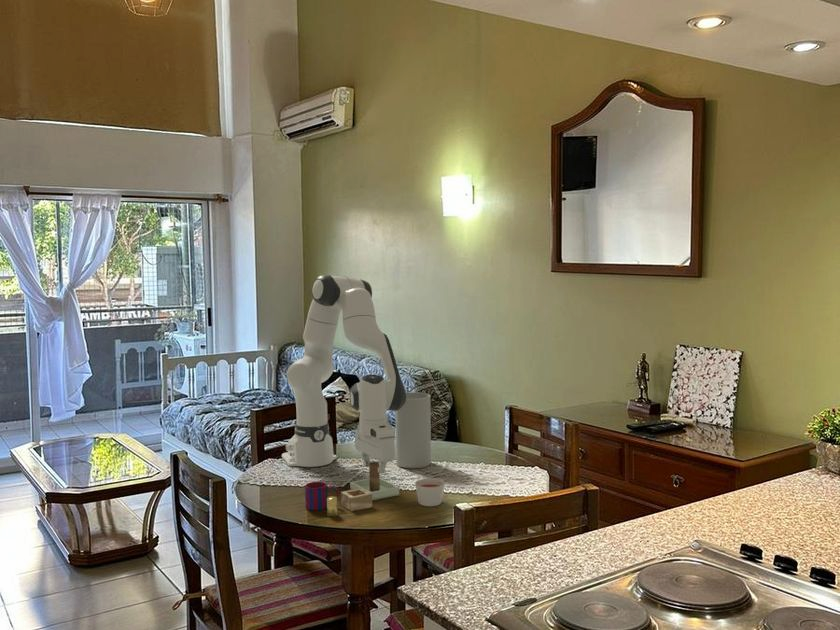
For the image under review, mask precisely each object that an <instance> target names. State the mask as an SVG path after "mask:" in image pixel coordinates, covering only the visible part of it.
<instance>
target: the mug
mask: <svg viewBox="0 0 840 630" xmlns="http://www.w3.org/2000/svg"><path fill="white" fill-rule="evenodd" d="M330 489H334V490H335V492H336V496H335V497H337V500H338V498H339V490H338V487H336V486H335V485H334V486H332V485H331V486H328V483H327V482H325V481H311V482H307V483H306V484H304V501H305V506H304V507H305V509H306V510H308V511H313V510H317V511H322V510H326V509H327V497H329V496H328V493H329V492H328V491H329V490H330ZM325 508H326V509H325Z"/></svg>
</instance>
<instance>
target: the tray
mask: <svg viewBox="0 0 840 630" xmlns="http://www.w3.org/2000/svg"><path fill="white" fill-rule="evenodd" d="M379 479H380V490H379V491H374V492H371V491H370V483H369V478H366V479H365V478H364V479H360V480H355V481H350V482H349V483H350V484H349V487H350V488H349V490H354V489H359V488H362V489H364V490H366V491H368V492H369V493H371V494H372V501H377V500H380V499H381V500H382V499H387V498H390V497H396V496H400V487H399V486H397V485H396V484H393V483H392V482H390V481H388V480H386V479H384V478H382V477H380V476H379Z"/></svg>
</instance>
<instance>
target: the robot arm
mask: <svg viewBox="0 0 840 630" xmlns="http://www.w3.org/2000/svg"><path fill="white" fill-rule="evenodd" d="M311 285H312V286H311V297H312V300H311V303H310V306H309V309H308V311H307V317H306V322H305V326H304V330H303V334H302V339H303V341H304V342H303V343H304V353H303V357H302V358H298V359H297V360H295V361H294V362H293V363H292V364H291V365H289V367H288V369H287V371H286V380H287V383H288V384H289V386H291V388H292V392H293V396H294V399H295V400H294V401H295V407H296V423H295V427H294V435H293V436H292V437H291V438H290V439H289V440H288V442H287V444H285V451H286V452H283V453H282V454H281V458H282V459H283V460H284V462H285V463H286V464H287V466H288V467H302V468H303V467H305V468H314V467H323V466H327V465H329V464H331V463H333V462H334V460H336V459H337V458H338V456H337V455H336V454H334V445H333V444H334V443H333V437H332V436H331V435H329V432H330V426H329V422H328V401H327V400H326V399H325V397H324V394H323V393H324V392H323V389H322V383H324V382H326V381H328V380H329V378H330V377H331V376H332V374H333V373H334V369H335V366H334V361H333V349H334V342H335V336H336V332H337V327H338V323H339V318H340V313H341V311H342V326H343V331H344V336H345V338H346V339H347V341H349V342H350V343H351V344H352V345H354V346H356V347H358V348H361V349H365V350H368V351H370V352H372V353H374V354H376V355H377V356H378V357H379V358H380V361H381V364H382V367H383V371H384V374H385V378H386V380H385V378H384V377H383V376H381V375H380V374H375V373H374V374H373V373H372V374H370V373H369V374H366V375H362V376H361V378H360V379H359V380H360V381H359V382H356V383H354V384H353V385H352V386H351V387H350V389H349V405H350V407H351V408H352V409H354V410H355V411H356V412H359V413H360V414H359V418H358V419H359V422H358V424H357V428H356V429H355V434H354V447H355V450H357V451H358V452H361V455H360V456H361V457H362V460H363V466H364V467H366V468H369V462H372V461H371V460H370V457H372V458H374V459H376V460H378V462H379V467H378V473H379V475H383V474H385V472H386V466H387V464H388V463H389V462H393V461H394V459H395V457H396V441H395V439H394V437H396V428H394V427H393V426H392V425H391V424H390V422H389V421H388V413H387V411H389V412H390V411H391V412H392V411H393V412H396V411H398V410H399V409H400V408H401V407H402V406H403V405H404V404H405V402H406V393H407V392H406V387H405V384H404V382H403V380H402V378H401V375H400V372H399V368H398V364H397V361H396V357H395V355H394V354H395V353H394V351H393V347H392V345H391V341H390V339H389V337H388V335H387V334H386V333H385V332H384V333H383V332H382V330H381V329H380V328H379V326H378V323H377V319H376V318H377V317H376V311H375V306H374V302H373V299H372V298H373V297H372V296H373V290H372V286H371V284H370V283H369V282H368V281H366V280H363V279H362V278H355V277H351V276H346V275H343V276H339V275H329V274H323V275H319V276H317V277H316V278H315V280H314V281H313V283H312V284H311Z"/></svg>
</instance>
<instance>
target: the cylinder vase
mask: <svg viewBox="0 0 840 630" xmlns="http://www.w3.org/2000/svg"><path fill="white" fill-rule="evenodd" d="M431 425H432V424H431V394H429V393H426V392H425V393H424V392H418V391H417V392H406V402H405V404H404V405H403V406H402V407H401V408H400V409H399V410H398V411H395V460H396V461H395V462H396V465H397V466H398V467H400V468H402V469H413V470H414V469H423V468H426V467H428V466H430V465H431V463H432V441H431V440H432V433H431V431H432V428H431Z"/></svg>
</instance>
